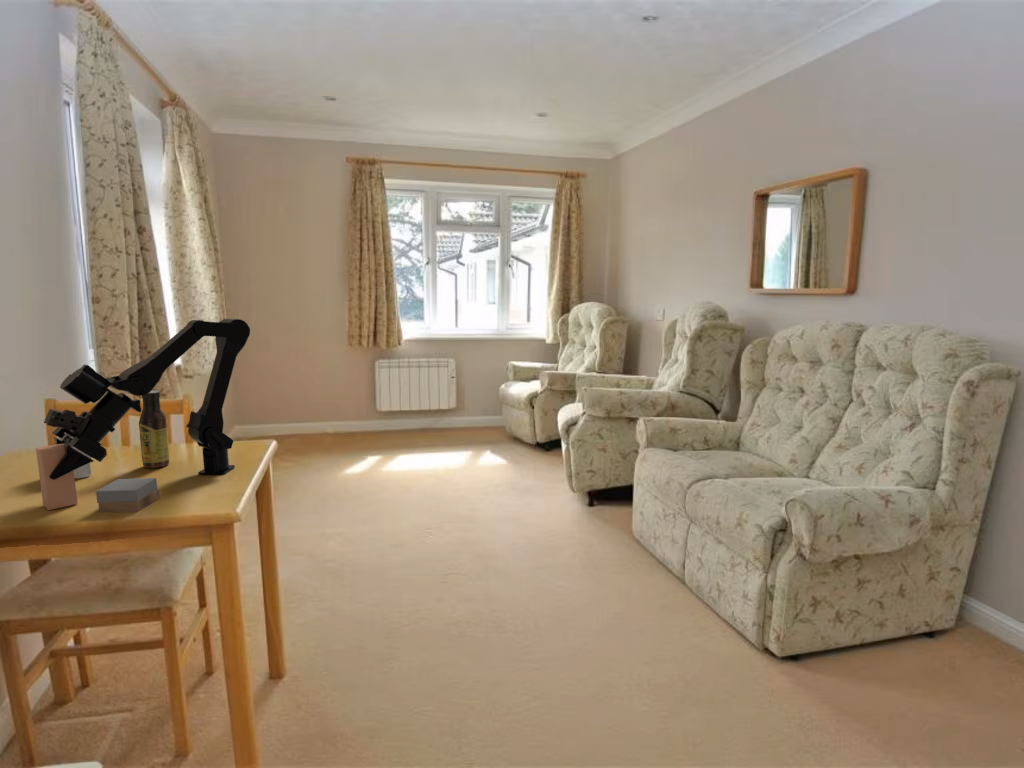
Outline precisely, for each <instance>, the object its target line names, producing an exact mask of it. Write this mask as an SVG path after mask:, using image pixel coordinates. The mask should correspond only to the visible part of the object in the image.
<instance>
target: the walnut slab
mask: <svg viewBox="0 0 1024 768" xmlns="http://www.w3.org/2000/svg"><path fill="white" fill-rule="evenodd" d="M160 493H161V492H160V489H159V488H157V489H156V490H155V491H153V492H152V493H150V494H149V495H147V496H146V497H144V498H142V499H141V500H139V501H138V502H107V503H97V504H98V512H99V513H111V512H112V513H115V512H118V513H121V512H122V513H123V512H124V513H126V512H133V513H135V512H137V513H138V512H140V511H142V510H144V509H145V508H147V507H148V506H151V504H153V503H155V502H157V501H158V500H160V499H161V494H160Z"/></svg>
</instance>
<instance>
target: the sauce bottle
mask: <svg viewBox="0 0 1024 768" xmlns="http://www.w3.org/2000/svg"><path fill="white" fill-rule="evenodd" d="M160 396H161V393H160V390H151V392H149V393H148V394H146V395H144V396H141V398H142V405H143V406H142V409H141V410H142V411H141V414H140V417H139V421H138V428H139V440H140V451H141V452H140V453H141V454H140V455H141V462H142V465H143V466H142V467H144V468H145V469H146V468H147V469H158V468H159V469H160V468H163V467H166V466H168V465H169V463H170V446H169V444H170V443H169V434H168V425H167V424H168V423H167V417H166V414H165V413H164V411H163V410H162V409H161V404H160V403H161V402H160V398H161V397H160Z"/></svg>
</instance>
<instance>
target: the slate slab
mask: <svg viewBox="0 0 1024 768" xmlns="http://www.w3.org/2000/svg"><path fill="white" fill-rule="evenodd" d="M156 489H158V481H157V477H149V478H148V477H147V478H146V477H143V478H142V477H141V478H140V477H139V478H118V479H116V480H114V481H112V482H110V483H108V484H107V485H105V486H102V487H101V488H99V489H97V490H95V495H96V503H97V504H98V503H107V502H138V501H139V500H141V499H142V498H144V497H146V496H147V495H149V494H150V493H152V492H153V491H155V490H156Z"/></svg>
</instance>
